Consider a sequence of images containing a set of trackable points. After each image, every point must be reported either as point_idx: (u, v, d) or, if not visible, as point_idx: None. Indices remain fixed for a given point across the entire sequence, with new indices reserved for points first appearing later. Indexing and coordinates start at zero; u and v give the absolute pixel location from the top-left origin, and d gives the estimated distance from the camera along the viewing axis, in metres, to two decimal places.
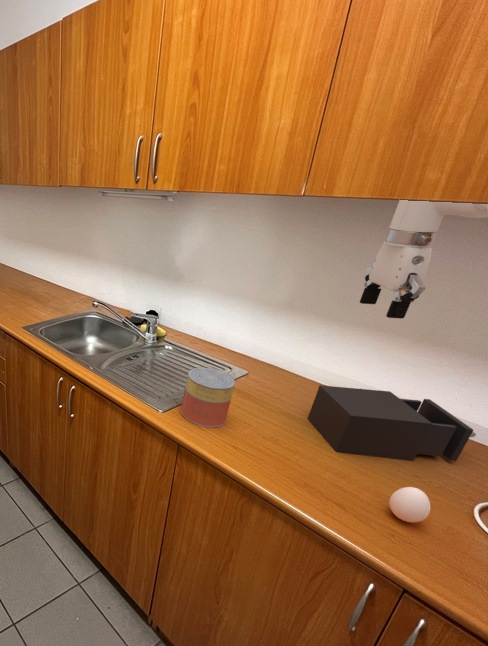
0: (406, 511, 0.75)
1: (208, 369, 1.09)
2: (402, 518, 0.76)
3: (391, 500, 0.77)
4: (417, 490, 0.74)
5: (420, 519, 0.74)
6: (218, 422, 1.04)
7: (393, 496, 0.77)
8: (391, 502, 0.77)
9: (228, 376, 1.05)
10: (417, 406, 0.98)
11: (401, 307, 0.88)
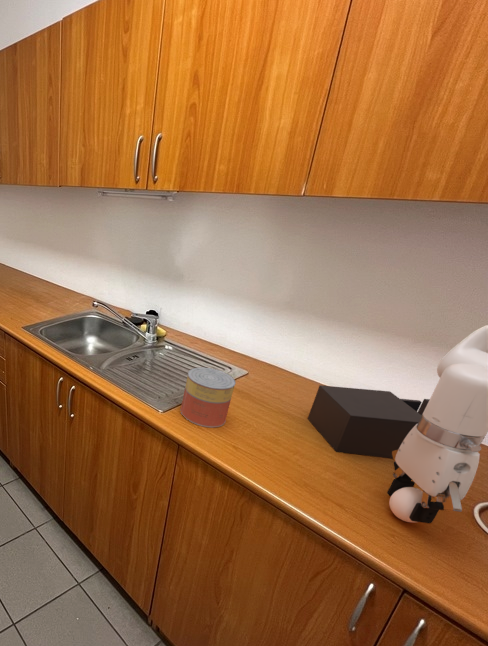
0: (406, 511, 0.75)
1: (208, 369, 1.09)
2: (402, 518, 0.76)
3: (391, 500, 0.77)
4: (417, 490, 0.74)
5: None
6: (218, 422, 1.04)
7: (393, 496, 0.77)
8: (391, 502, 0.77)
9: (228, 376, 1.05)
10: (417, 406, 0.98)
11: (428, 514, 0.72)
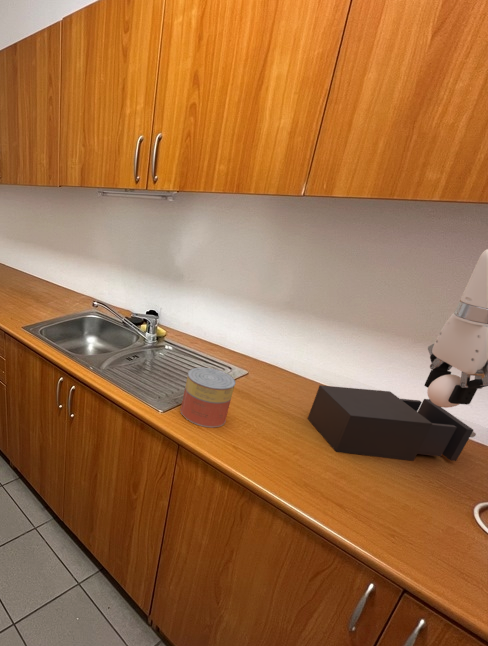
0: (445, 395, 0.80)
1: (208, 369, 1.09)
2: (441, 404, 0.81)
3: (429, 389, 0.83)
4: (454, 375, 0.80)
5: None
6: (218, 422, 1.04)
7: (431, 385, 0.82)
8: (429, 390, 0.82)
9: (228, 376, 1.05)
10: (417, 406, 0.98)
11: (467, 393, 0.77)
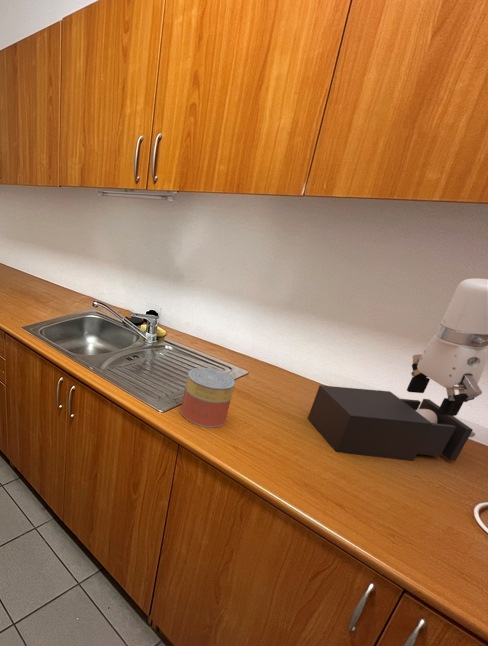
0: None
1: (208, 369, 1.09)
2: None
3: None
4: None
5: None
6: (218, 422, 1.04)
7: None
8: None
9: (228, 376, 1.05)
10: (417, 406, 0.98)
11: (454, 406, 0.86)
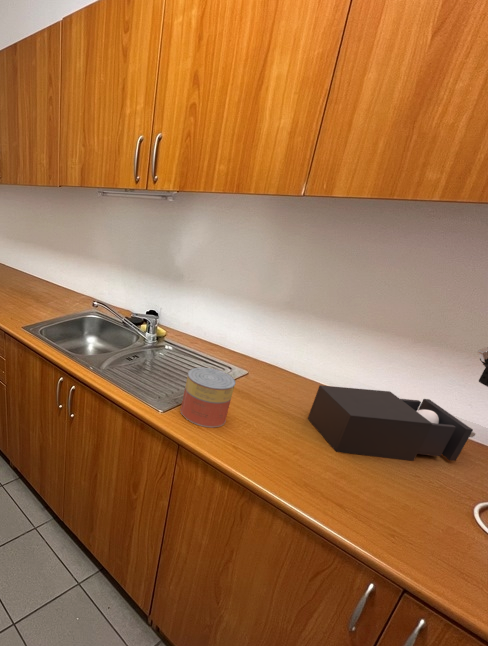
0: None
1: (208, 369, 1.09)
2: None
3: None
4: (433, 412, 0.94)
5: None
6: (218, 422, 1.04)
7: None
8: None
9: (228, 376, 1.05)
10: (417, 406, 0.98)
11: (485, 373, 0.88)
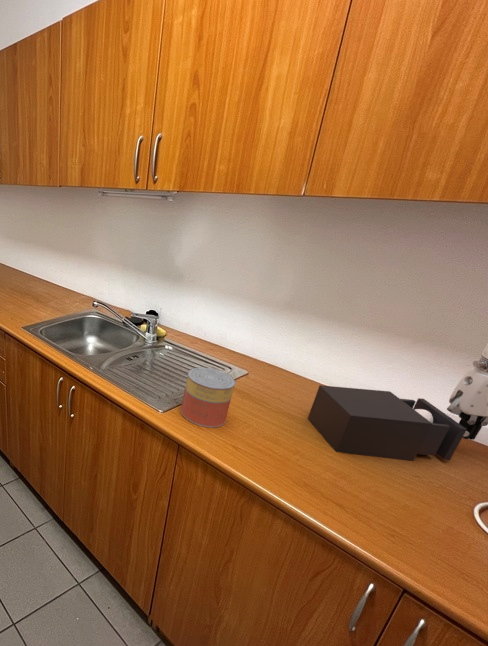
0: None
1: (208, 369, 1.09)
2: None
3: None
4: (428, 411, 0.94)
5: None
6: (218, 422, 1.04)
7: None
8: None
9: (228, 376, 1.05)
10: (412, 406, 0.98)
11: (461, 424, 0.93)
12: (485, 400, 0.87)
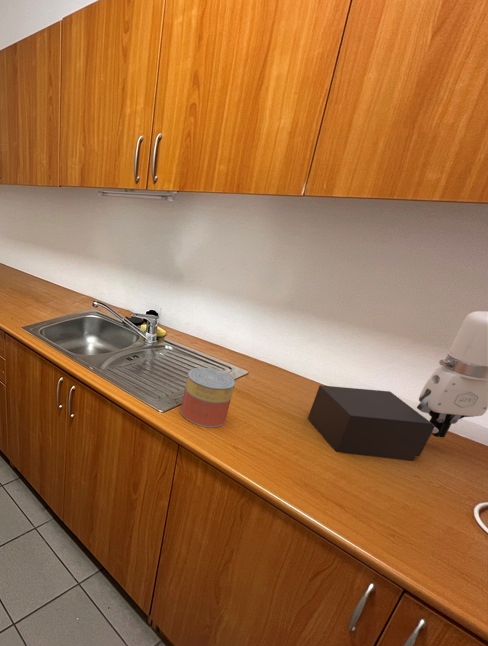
0: None
1: (208, 369, 1.09)
2: None
3: None
4: None
5: None
6: (218, 422, 1.04)
7: None
8: None
9: (228, 376, 1.05)
10: None
11: (431, 422, 0.94)
12: (452, 398, 0.88)
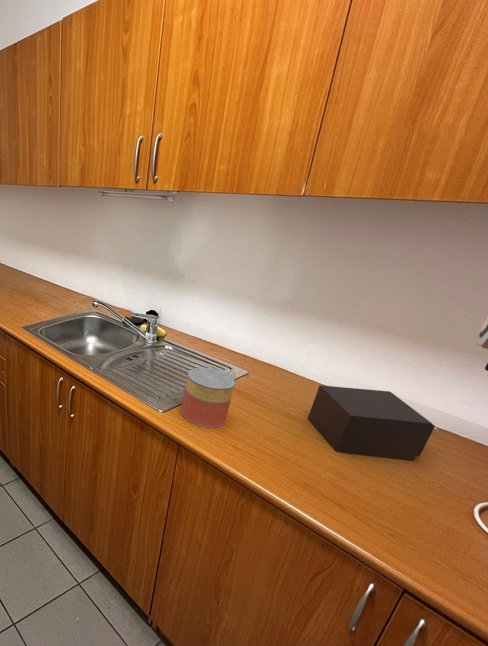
0: None
1: (208, 369, 1.09)
2: None
3: None
4: None
5: None
6: (218, 422, 1.04)
7: None
8: None
9: (228, 376, 1.05)
10: None
11: None
12: None
